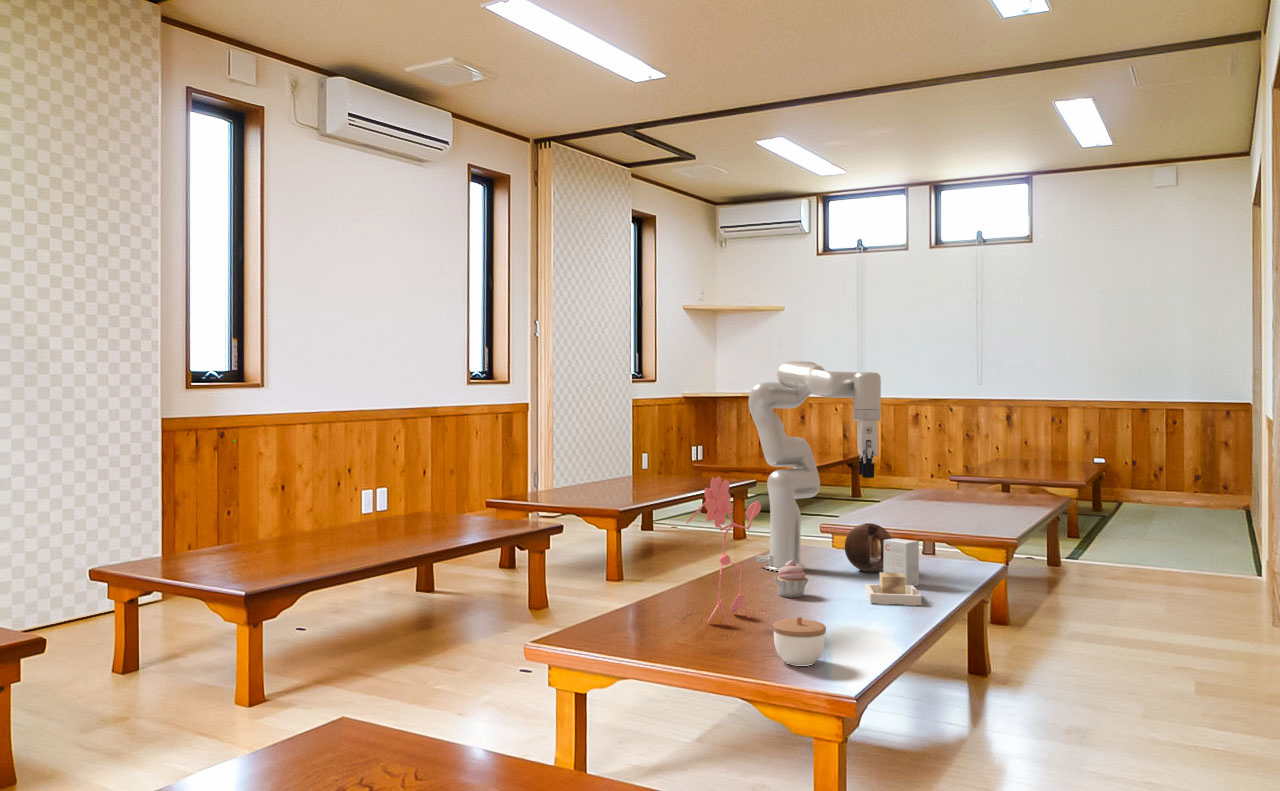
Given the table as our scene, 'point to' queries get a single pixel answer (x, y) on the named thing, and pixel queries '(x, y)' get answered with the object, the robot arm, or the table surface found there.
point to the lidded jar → (799, 640)
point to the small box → (902, 559)
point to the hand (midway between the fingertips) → (866, 476)
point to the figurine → (717, 510)
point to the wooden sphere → (866, 546)
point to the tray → (893, 595)
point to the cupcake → (791, 580)
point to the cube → (892, 583)
